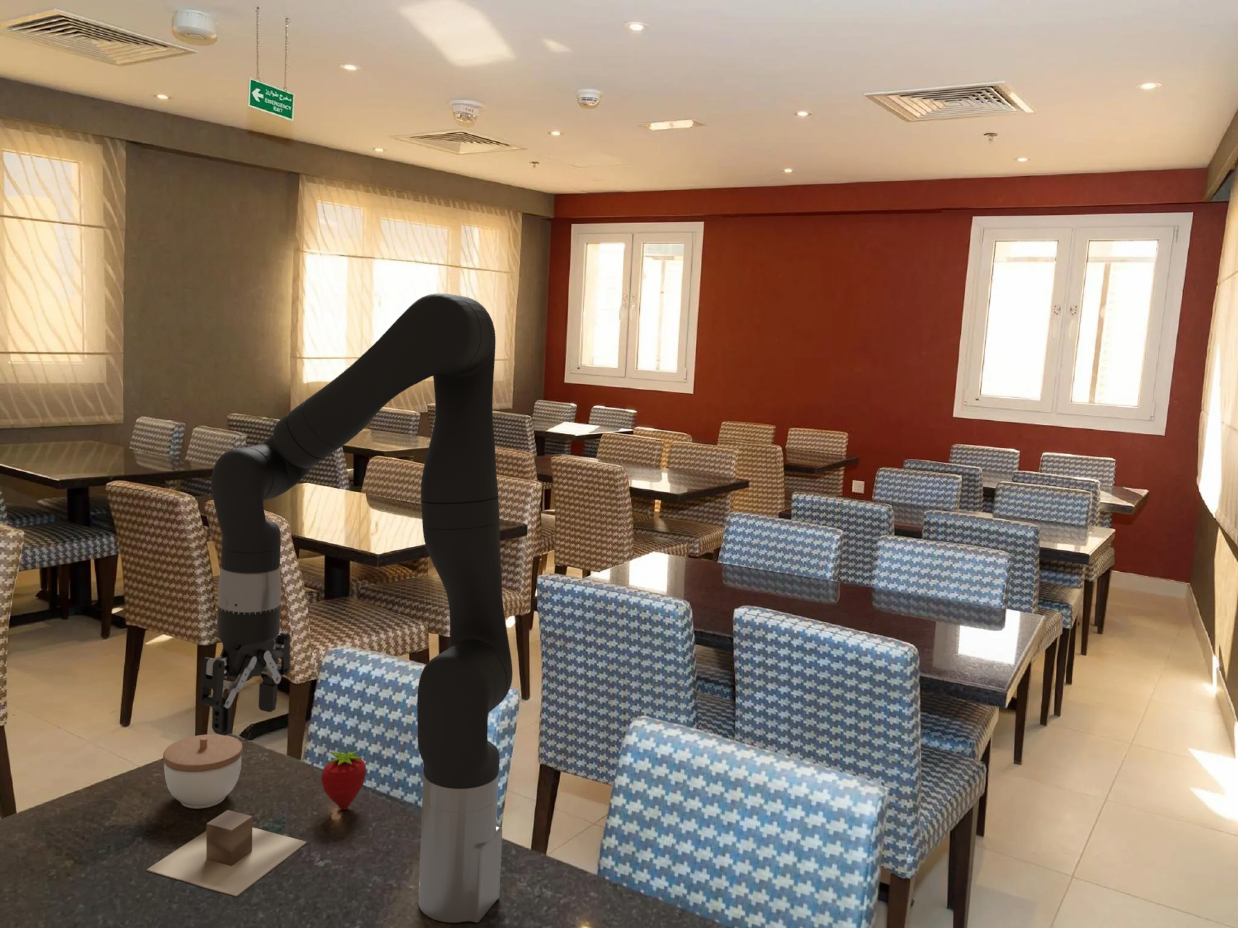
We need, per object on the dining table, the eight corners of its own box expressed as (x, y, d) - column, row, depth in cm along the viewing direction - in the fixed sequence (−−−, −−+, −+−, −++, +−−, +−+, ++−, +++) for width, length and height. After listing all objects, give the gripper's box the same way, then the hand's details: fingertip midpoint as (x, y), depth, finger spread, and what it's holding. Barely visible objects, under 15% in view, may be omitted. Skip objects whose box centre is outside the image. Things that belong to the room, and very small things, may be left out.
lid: (306, 847, 133) (307, 807, 133) (236, 901, 120) (236, 857, 119) (223, 824, 138) (223, 786, 137) (146, 875, 125) (146, 832, 124)
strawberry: (310, 816, 140) (312, 751, 139) (339, 793, 147) (341, 731, 146) (347, 824, 139) (348, 758, 137) (374, 801, 146) (376, 737, 145)
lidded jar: (187, 824, 136) (187, 761, 135) (149, 798, 143) (148, 738, 141) (256, 798, 145) (257, 738, 143) (217, 775, 151) (217, 717, 150)
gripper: (235, 620, 116) (230, 748, 118) (309, 593, 129) (304, 708, 132) (184, 609, 118) (181, 735, 121) (262, 583, 132) (258, 697, 134)
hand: (245, 721), depth 126 cm, fingers open, 8 cm apart
